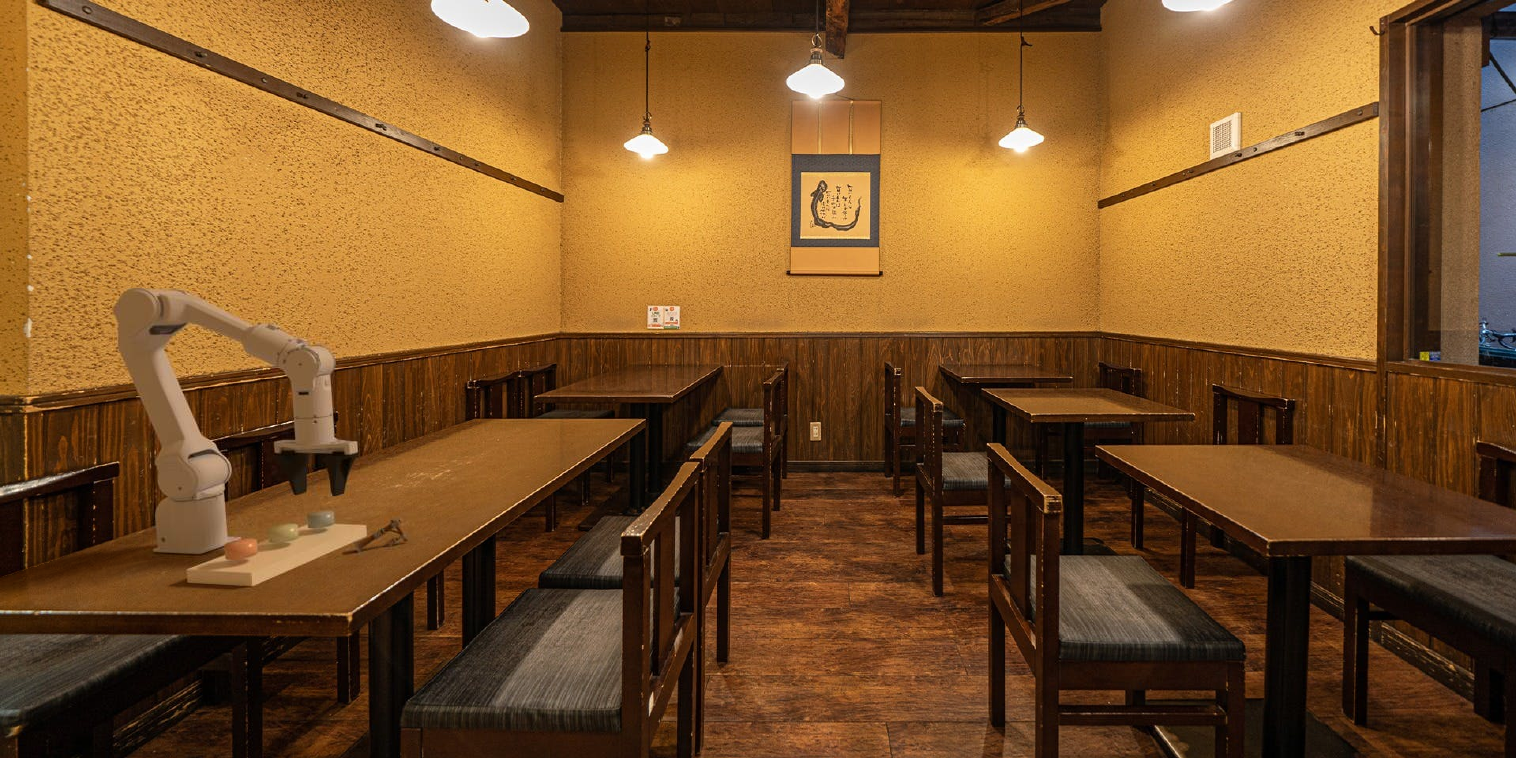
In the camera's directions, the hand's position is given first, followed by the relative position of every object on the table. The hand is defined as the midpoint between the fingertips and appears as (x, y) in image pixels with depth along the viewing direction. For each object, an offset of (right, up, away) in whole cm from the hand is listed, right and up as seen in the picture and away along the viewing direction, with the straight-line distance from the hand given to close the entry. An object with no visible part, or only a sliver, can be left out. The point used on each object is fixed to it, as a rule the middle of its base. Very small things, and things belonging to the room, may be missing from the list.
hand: (319, 494), depth 126 cm
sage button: (-1, -7, -7) cm, 10 cm away
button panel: (-1, -9, -7) cm, 12 cm away
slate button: (0, -6, +1) cm, 6 cm away
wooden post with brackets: (+12, -9, -2) cm, 15 cm away
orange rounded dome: (-3, -8, -15) cm, 17 cm away
